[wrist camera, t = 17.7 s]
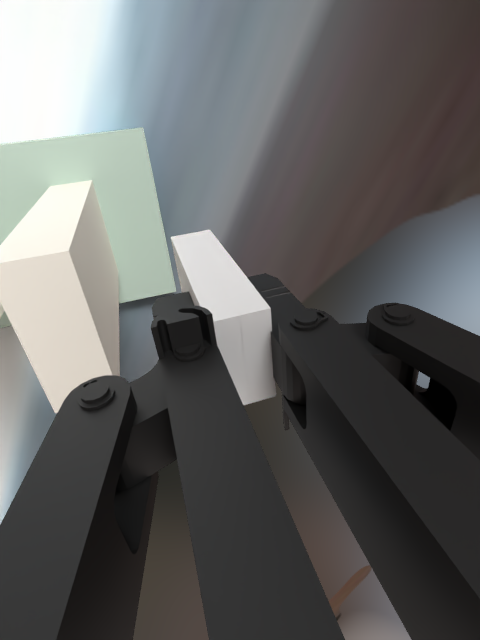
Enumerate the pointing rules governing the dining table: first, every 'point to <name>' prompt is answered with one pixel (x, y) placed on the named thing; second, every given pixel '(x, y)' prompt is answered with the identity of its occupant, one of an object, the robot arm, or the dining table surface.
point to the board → (113, 196)
